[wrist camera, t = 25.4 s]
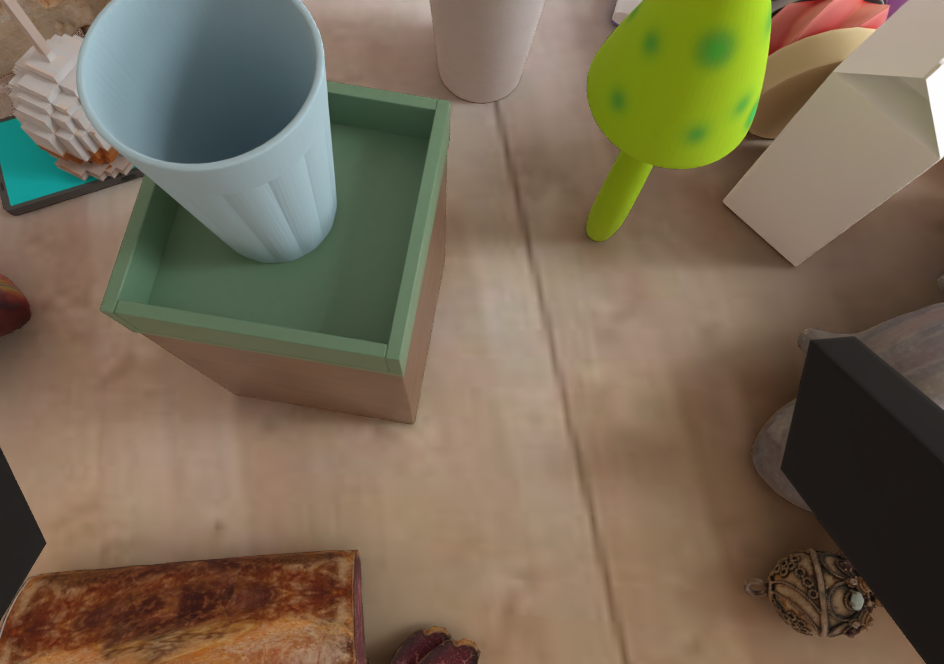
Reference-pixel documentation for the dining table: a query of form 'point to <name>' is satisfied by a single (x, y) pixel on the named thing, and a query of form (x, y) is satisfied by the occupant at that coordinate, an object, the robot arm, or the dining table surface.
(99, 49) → the cup
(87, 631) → the cured meat
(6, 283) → the anatomical model
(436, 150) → the tray
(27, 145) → the smartphone
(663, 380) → the dining table surface
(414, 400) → the stand
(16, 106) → the decorative ornament
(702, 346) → the dining table surface
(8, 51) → the figurine
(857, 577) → the pendant
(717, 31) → the mushroom
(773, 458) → the piggy bank
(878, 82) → the milk carton
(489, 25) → the coffee cup
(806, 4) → the cake
